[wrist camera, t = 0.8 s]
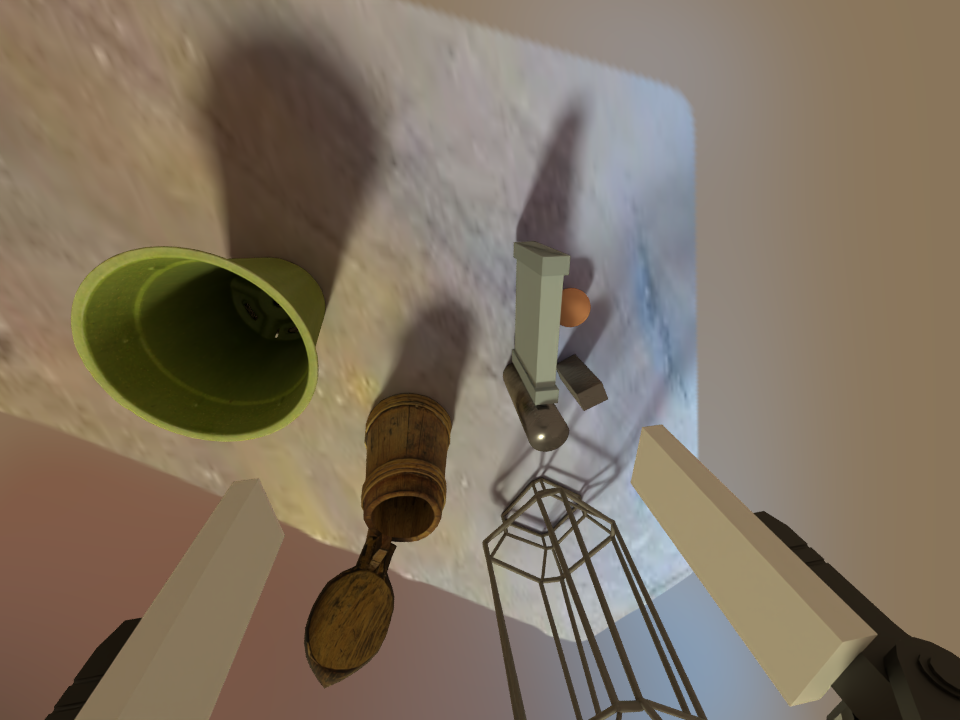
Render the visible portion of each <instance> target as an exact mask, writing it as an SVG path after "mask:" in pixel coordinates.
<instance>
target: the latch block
mask: <svg viewBox="0 0 960 720" xmlns="http://www.w3.org/2000/svg"><path fill="white" fill-rule="evenodd" d="M556 370H557V372H558V374H559V377H560V379H561V380H562V382H563V383H564V384H565V386H566V387H567V389H568V390H569V391H570V393H571V394H572V395H573V397H574V398H575V399H576V401H577V402H578V404H579V405H580V406H581V408H582V409H583V410H584V411H585V410H587V409H589V408H591V407H593V406H595V405H597V404H599V403H601V402H603V401H605V400H608V397H607V395H606V392H605V389H604V387H603V384H602V382H601V381H600V380H599V379H598V378H597V377H596V376H595V375H594V374H593V372H592V371H591V370H590V369H589V368H588V367H587V366H586V365H585V364H584V363H583V362H582V361H581V360H580V359H579V358H578V357H577V356H576V354H575V355H573V356H571V357H569V358H567V359H565V360H563V361H561V362H559V363H557V365H556Z"/></svg>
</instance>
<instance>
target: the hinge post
mask: <svg viewBox="0 0 960 720" xmlns="http://www.w3.org/2000/svg"><path fill="white" fill-rule="evenodd" d="M503 380H504V382H505V385H506V387H507V390H508V392H509V395H510V397H511V399H512V402H513V404H514V407H515V409H516V411H517V414H518V416H519V419H520V421H521V423H522V426H523V428H524V431H525V433H526V435H527V438H528V440H529V443H530V445H531V446H532V447H533V448H534V449H536V450H538V451H543V452H547V451H552V450H555V449H557V448H559V447H560V446H561V445H563V444H564V442H565V441H566V440H567V438H568V435H569V428H568V426H567V424H566V422H565V421H564V419H563V418H562V416H561V414H560V413H559V411H558V409H557V408H556V406H555V404H554V403H552V404H543V405H535V404H534V402H533V400H532V398H531V396H530V394H529V392H528V391H527V389H526V387H525V385H524V383H523V381H522V379H521V377H520V375H519V373H518V371H517V369H516V367H515V365H514V364H513V362H512V363H511V364H509V365H508V366H507V367H506V368H505V370H504V372H503Z"/></svg>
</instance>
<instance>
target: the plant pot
mask: <svg viewBox="0 0 960 720" xmlns="http://www.w3.org/2000/svg"><path fill="white" fill-rule="evenodd" d="M274 300H275V301H276V302H277V303H278V304H279V305H280V306H281V307H278V306H276V305H275V304H274V303H273V302H274ZM244 304H249V306H250V308H251V309H252V310H253V312H254V313H255V315H256V316H257V317H258V318H257V319H256V321H255V320H254V319H253V318H252V316H251V315H250V314H249V313H248V311H247V310H246V308H245V306H244ZM324 315H325V300H324V297H323V294H322V291H321V289H320V287H319V285H318V284H317V282H316V281H315V280H314V279H313V278H312V276H311V275H310V274H309V273H308V272H306V271H305V270H304V269H302V268H301V267H299V266H297V265H295V264H293V263H291V262H288V261H286V260H283V259H279V258H268V257H267V258H234V259H226V258H223V257H220V256H217V255H214V254H211V253H207V252H203V251H199V250H195V249H189V248H181V247H169V246H158V247H145V248H139V249H134V250H130V251H126V252H123V253H120V254H117V255H115V256H113V257H111V258H109V259H107V260H106V261H104V262H102V263H101V264H100V265H98V266H97V267H96V268H95V269H93V270H92V271H91V272H90V273H89V274H88V275H87V277H86V278H85V279H84V280H83V282H82V283H81V285H80V286H79V288H78V290H77V292H76V295H75V298H74V301H73V305H72V311H71V328H72V334H73V340H74V343H75V346H76V349H77V351H78V353H79V355H80V357H81V359H82V361H83V363H84V365H85V367H86V368H87V369H88V370H89V372H90V373H91V374H92V376H93V378H94V379H95V380H96V382H97V383H98V384H99V385H100V386H101V387H102V388H103V389H104V390H105V391H106V392H107V393H108V394H109V395H110V396H111V397H112V398H113V399H114V400H115V401H117V402H118V403H119V404H120V405H122V406H123V407H125V408H127V409H128V410H130V411H132V412H133V413H135V414H136V415H137V416H139V417H141V418H142V419H144V420H146V421H148V422H150V423H152V424H154V425H156V426H158V427H161V428H163V429H166V430H169V431H171V432H174V433H177V434H181V435H184V436H187V437H191V438H197V439H203V440H212V441H223V442H230V441H243V440H249V439H255V438H259V437H263V436H266V435H269V434H271V433H274V432H276V431H278V430H280V429H282V428H284V427H285V426H287V425H288V424H290V423H291V422H292V421H294V420H295V419H296V418H297V417H298V416H299V415H300V414H301V413H302V412H303V411H304V410H305V408H306V407H307V405H308V404H309V402H310V400H311V398H312V396H313V394H314V391H315V388H316V385H317V379H318V357H317V352H316V348H315V346H316V343H317V339H318V336H319V333H320V329H321V326H322V322H323V319H324ZM293 327H297V328H298V330H299V332H296V333H290V332H289V331H288V330H289V328H293ZM278 329H279V335H278V337H277V338H275V336H276V334H277V331H278Z"/></svg>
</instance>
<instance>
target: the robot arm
mask: <svg viewBox="0 0 960 720" xmlns="http://www.w3.org/2000/svg"><path fill="white" fill-rule="evenodd" d="M631 484H632V485H633V487H634V488H635V490H636V491H637V493H638V494H639V495H640V497H641V498H642V500H643V501H644V502H645V504H646V505H647V507H648V508H649V509H650V511H651V512H652V514H653V515H654V516H655V518H656V519H657V521H658V522H659V523H660V525H661V526H662V528H663V529H664V530H665V532H666V533H667V535H668V536H669V537H670V539H671V540H672V542H673V543H674V544H675V546H676V547H677V549H678V550H679V552H680V553H681V554H682V556H683V557H684V559H685V560H686V561H687V563H688V564H689V566H690V567H691V568H692V570H693V571H694V573H695V574H696V575H697V577H698V578H699V580H700V581H701V582H702V584H703V585H704V587H705V588H706V589H707V591H708V592H709V594H710V595H711V596H712V598H713V599H714V601H715V602H716V603H717V605H718V606H719V608H720V609H721V610H722V612H723V613H724V615H725V616H726V617H727V619H728V620H729V622H730V623H731V625H732V626H733V627H734V629H735V630H736V632H737V633H738V634H739V636H740V637H741V639H742V640H743V641H744V643H745V644H746V646H747V647H748V648H749V650H750V651H751V652H752V654H753V655H754V657H755V658H756V660H757V661H758V662H759V664H760V665H761V667H762V668H763V669H764V671H765V672H766V674H767V675H768V676H769V678H770V679H771V681H772V682H773V683H774V685H775V686H776V688H777V689H778V691H779V692H780V693H781V694H782V696H783V698H784V699H785V700H786V701H787V703H788V705H789V706H794V705H798V704H803V703H806V702H810V701H815V700H819V699H821V697H822V696H823V695H824V694H825V693H826V692H827V691H828V690H829V688H830V687H832V688H833V689H834V690H835V691H836V693H837V694H838V695H839V696H840V697H841V699H842V701H841V702H840V703H839V704H838V705H837V706H836V707H835V708H834V709H833V710H832V712H831V713H830V714H829V715H828V716H827V720H960V658H959V657H957V656H956V655H954V654H953V653H951V652H949V651H948V650H946V649H944V648H942V647H940V646H938V645H936V644H934V643H932V642H929V641H925V640H922V639H918V638H915V637H911V636H910V635H908V634H907V633H905V632H904V631H903V630H902V629H901V628H899V627H898V626H897V625H896V624H894V623H893V622H892V621H891V620H890V619H889V618H888V617H887V616H886V615H885V614H883V613H882V612H881V611H880V610H879V609H878V608H877V607H876V606H875V605H874V604H873V603H871V602H870V601H869V600H868V599H867V598H866V597H865V596H864V595H863V594H861V593H860V592H859V591H858V590H857V589H856V588H855V587H854V586H853V585H852V584H851V583H850V582H848V581H847V580H846V579H845V578H844V577H843V576H842V575H841V574H840V573H838V572H837V571H836V570H835V569H834V568H833V567H832V566H831V565H830V564H829V563H825V561H824V559H823V558H822V557H821V556H820V555H819V554H818V553H817V552H816V551H815V550H813V549H812V548H809V547H808V546H807V543H806V542H805V541H804V540H803V539H801V538H800V537H799V536H798V535H797V534H796V533H795V532H794V531H793V530H792V529H791V528H789V527H788V526H787V525H786V524H784V523H782V522H781V521H779V520H777V519H776V518H774V517H772V516H771V515H769V514H768V513H766V512H765V511H762V512H757V513H752V512H751V511H750V510H749V509H748V508H747V507H746V506H745V505H744V504H743V503H742V502H741V501H740V500H739V499H738V498H737V497H736V496H735V495H734V494H733V493H732V492H731V491H730V490H729V489H728V488H727V487H726V486H725V485H723V484H722V483H721V482H720V481H719V480H718V479H717V478H716V477H715V476H714V475H713V474H712V473H711V472H710V471H709V470H708V469H707V468H706V467H705V466H704V465H703V464H702V463H701V462H700V461H699V460H698V459H697V458H696V457H695V456H694V455H693V454H692V453H691V452H690V451H689V450H688V449H687V448H686V447H685V446H683V445H682V444H681V443H680V442H679V441H678V440H677V439H676V438H675V437H674V436H673V435H672V434H671V433H670V432H669V431H668V430H667V429H666V428H665V427H664V426H663V425H655V426H647V427H642V431H641V436H640V441H639V445H638V450H637V455H636V460H635V465H634V469H633V474H632V479H631ZM284 536H285V535H284V533H283V531H282V528H281V526H280V524H279V522H278V519H277V517H276V515H275V513H274V511H273V508H272V506H271V504H270V502H269V500H268V497H267V495H266V493H265V491H264V488H263V486H262V484H261V482H260V480H259V478H258V479H250V480H243V481H235V482H233V483H232V485H231V486H230V488H229V489H228V491H227V492H226V494H225V495H224V497H223V498H222V500H221V501H220V503H219V504H218V506H217V507H216V509H215V510H214V512H213V513H212V515H211V516H210V518H209V519H208V521H207V522H206V524H205V525H204V527H203V528H202V530H201V531H200V532H199V534H198V535H197V537H196V538H195V540H194V541H193V543H192V545H191V546H190V548H189V549H188V550H187V552H186V554H185V555H184V556H183V558H182V560H181V561H180V563H179V564H178V566H177V567H176V569H175V570H174V572H173V573H172V574H171V576H170V578H169V579H168V580H167V582H166V583H165V585H164V586H163V588H162V589H161V591H160V592H159V594H158V595H157V597H156V598H155V600H154V601H153V603H152V604H151V606H150V607H149V609H148V610H147V612H146V613H145V615H144V616H143V618H137V619H132V620H126V621H124V622H123V623H122V624H121V625H120V626H119V627H118V628H117V629H116V630H115V631H114V632H113V633H112V634H111V635H110V636H109V637H108V638H107V639H106V640H105V641H104V642H103V643H101V644H100V645H99V646H98V647H97V648H96V650H95V651H94V653H93V654H92V655H91V657H90V658H89V659H88V661H87V662H86V664H85V665H84V666H83V668H82V669H81V671H80V672H79V673H78V675H77V676H76V677H75V679H74V683H73V685H72V686H69V687H68V688H67V690H66V691H65V693H64V694H63V695H62V697H61V698H60V699H59V701H58V702H57V704H56V705H55V706H54V711H53V712H52V713H51V714H49V715H48V716H47V717H46V719H45V720H209V718H210V716H211V713H212V711H213V708H214V706H215V704H216V701H217V699H218V696H219V694H220V691H221V689H222V686H223V684H224V682H225V679H226V677H227V674H228V672H229V670H230V667H231V665H232V662H233V660H234V657H235V655H236V653H237V650H238V648H239V645H240V643H241V640H242V638H243V636H244V633H245V631H246V628H247V626H248V623H249V621H250V619H251V616H252V613H253V611H254V609H255V606H256V604H257V602H258V599H259V597H260V594H261V592H262V589H263V587H264V585H265V582H266V580H267V577H268V575H269V572H270V570H271V568H272V565H273V563H274V560H275V558H276V556H277V553H278V551H279V548H280V546H281V543H282V541H283V538H284Z"/></svg>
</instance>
